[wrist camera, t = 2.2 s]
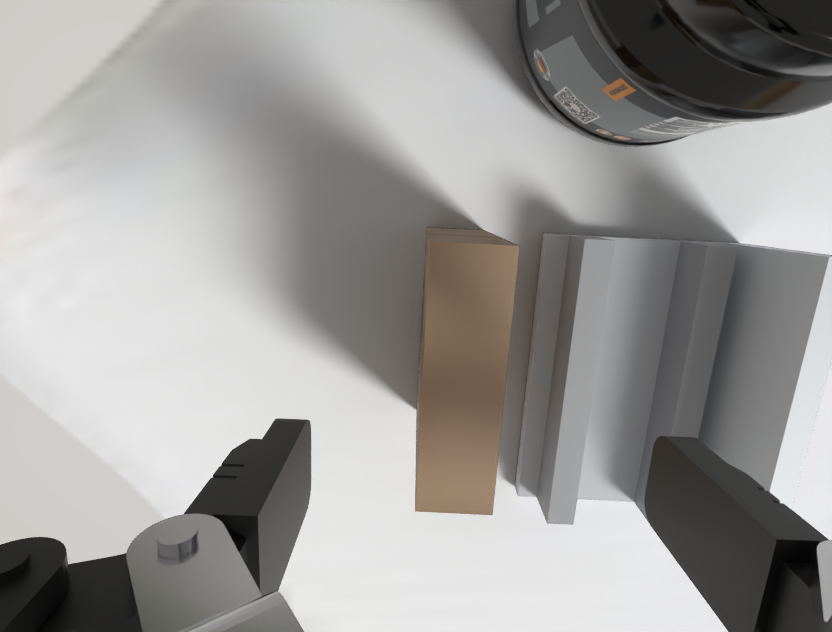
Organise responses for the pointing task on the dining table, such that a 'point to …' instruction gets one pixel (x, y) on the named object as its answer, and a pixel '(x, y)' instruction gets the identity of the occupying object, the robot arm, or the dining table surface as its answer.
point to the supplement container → (674, 63)
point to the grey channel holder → (670, 363)
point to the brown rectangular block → (462, 368)
